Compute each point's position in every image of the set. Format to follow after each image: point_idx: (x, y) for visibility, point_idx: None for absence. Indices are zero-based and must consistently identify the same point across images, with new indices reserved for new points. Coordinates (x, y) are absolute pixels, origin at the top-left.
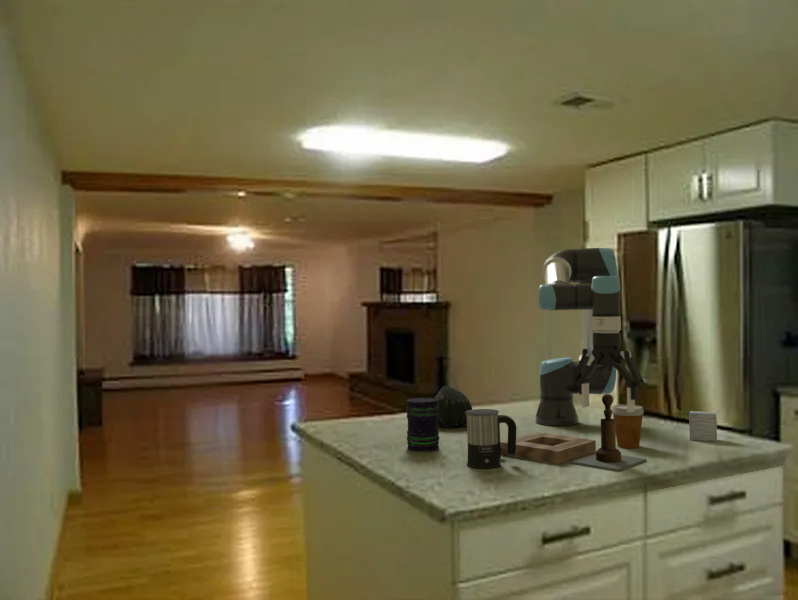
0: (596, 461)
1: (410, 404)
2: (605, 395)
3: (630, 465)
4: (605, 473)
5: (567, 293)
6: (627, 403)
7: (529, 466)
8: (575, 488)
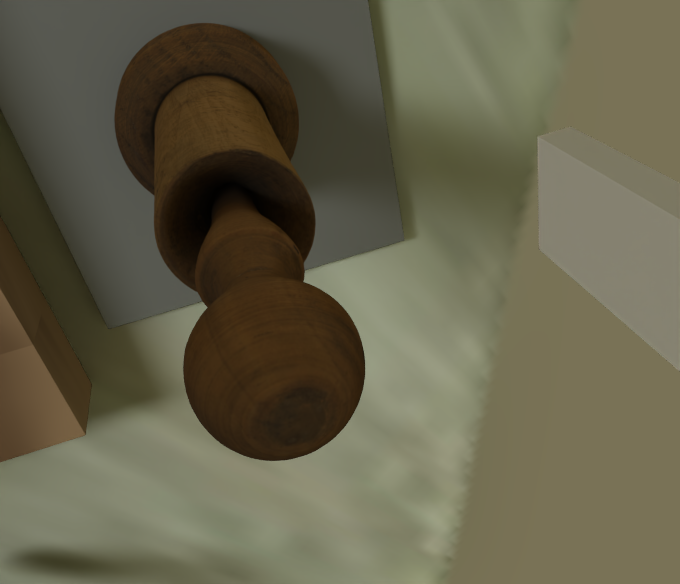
0: None
1: None
2: (296, 456)
3: (381, 97)
4: (382, 308)
5: None
6: (603, 300)
7: (61, 510)
8: (449, 515)
